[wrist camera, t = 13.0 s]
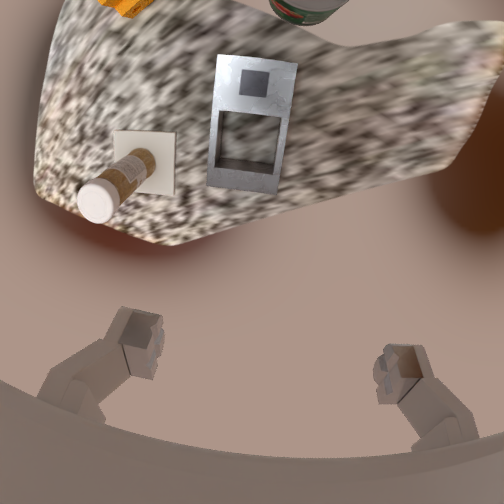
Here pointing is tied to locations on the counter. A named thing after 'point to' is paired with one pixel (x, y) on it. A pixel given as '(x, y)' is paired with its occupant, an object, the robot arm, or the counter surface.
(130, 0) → the orange stepped block
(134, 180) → the sprinkles bottle
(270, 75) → the grey open box
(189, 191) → the counter surface
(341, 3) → the canned tomato
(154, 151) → the plate
